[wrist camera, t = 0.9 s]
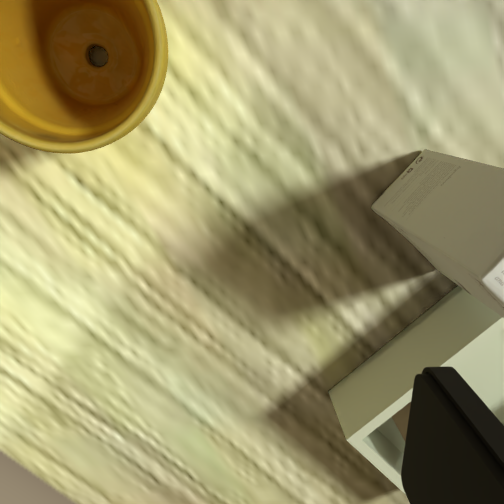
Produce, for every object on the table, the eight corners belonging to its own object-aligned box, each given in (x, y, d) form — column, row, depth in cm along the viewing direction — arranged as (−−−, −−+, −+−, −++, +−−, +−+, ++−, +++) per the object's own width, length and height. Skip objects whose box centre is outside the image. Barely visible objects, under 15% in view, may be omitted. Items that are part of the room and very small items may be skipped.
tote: (519, 234, 37) (574, 260, 32) (604, 345, 41) (667, 386, 35) (327, 391, 40) (346, 440, 35) (422, 480, 44) (453, 537, 38)
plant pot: (184, -22, 30) (171, -74, 21) (174, 145, 33) (158, 165, 24) (12, -47, 29) (-82, -113, 20) (18, 128, 32) (-62, 142, 23)
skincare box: (367, 206, 36) (466, 279, 22) (426, 143, 35) (571, 177, 20) (441, 274, 38) (575, 380, 24) (499, 216, 37) (676, 293, 23)
